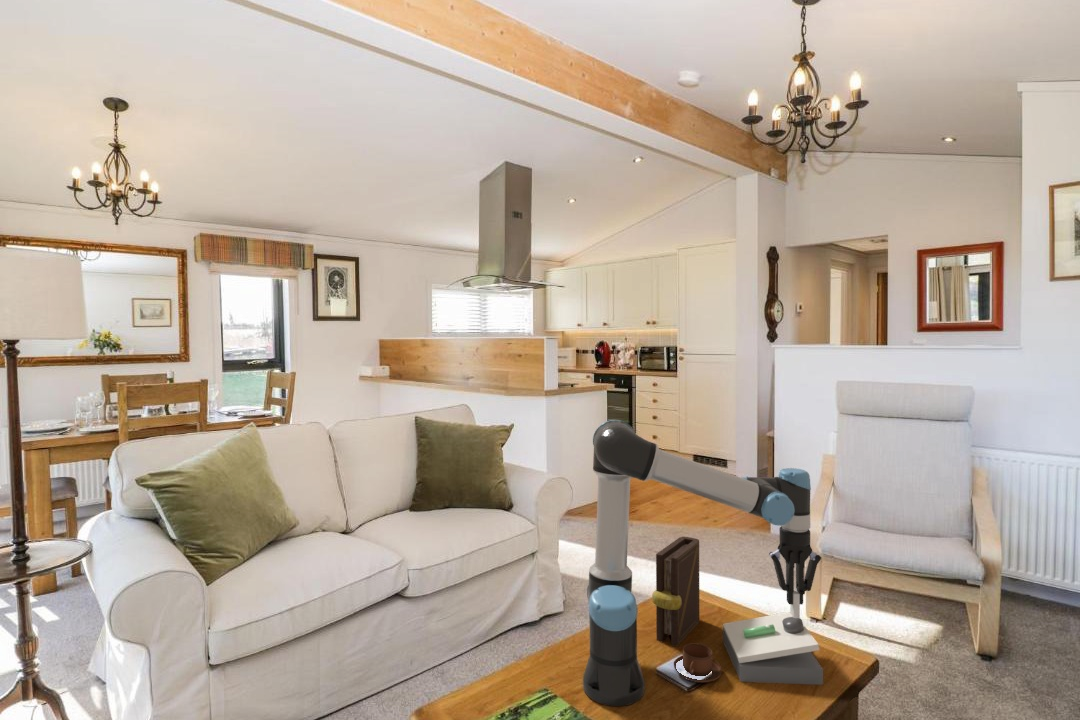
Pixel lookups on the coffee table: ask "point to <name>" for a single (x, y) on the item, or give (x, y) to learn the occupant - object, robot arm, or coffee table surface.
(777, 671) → the level base
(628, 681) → the robot arm
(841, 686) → the coffee table surface
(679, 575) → the book
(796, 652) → the level plate
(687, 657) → the cup and saucer
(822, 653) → the coffee table surface
